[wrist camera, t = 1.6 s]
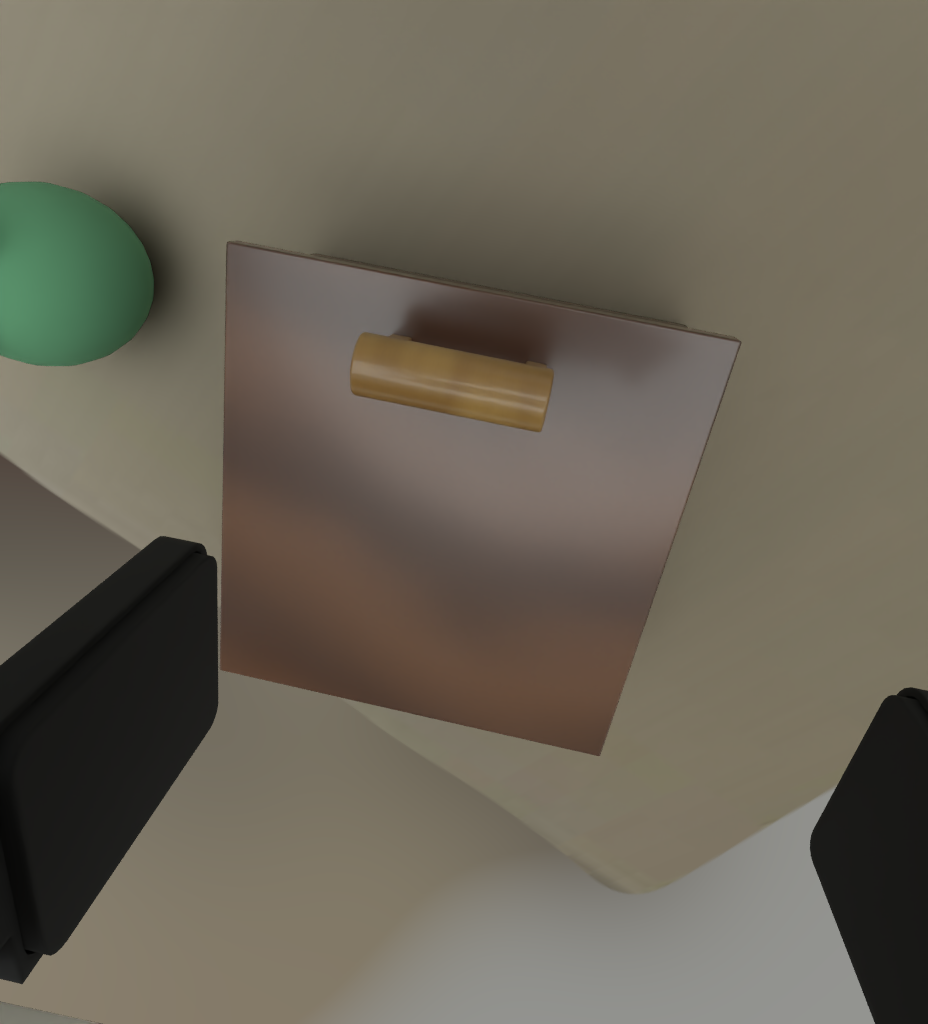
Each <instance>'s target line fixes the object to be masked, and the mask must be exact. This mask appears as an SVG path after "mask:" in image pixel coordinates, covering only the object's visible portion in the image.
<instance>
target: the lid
mask: <svg viewBox="0 0 928 1024" xmlns="http://www.w3.org/2000/svg"><path fill="white" fill-rule="evenodd" d="M740 345H741V341H740V340H738V339H737V338H735V337H732V336H727V335H722V334H717V333H712V332H706V331H701V330H696V329H691V328H686V327H681V326H675V325H670V324H665V323H660V322H655V321H650V320H644V319H639V318H634V317H629V316H624V315H619V314H613V313H608V312H603V311H598V310H593V309H588V308H582V307H577V306H572V305H567V304H562V303H557V302H551V301H546V300H541V299H536V298H531V297H526V296H520V295H515V294H510V293H505V292H500V291H495V290H489V289H484V288H479V287H474V286H469V285H464V284H458V283H453V282H448V281H443V280H438V279H433V278H427V277H422V276H417V275H412V274H407V273H402V272H396V271H391V270H386V269H381V268H376V267H371V266H366V265H360V264H355V263H350V262H345V261H340V260H335V259H329V258H324V257H319V256H314V255H309V254H304V253H298V252H293V251H288V250H283V249H278V248H273V247H267V246H262V245H257V244H252V243H247V242H242V241H229V242H227V252H226V317H225V381H224V446H223V510H222V574H221V640H220V642H221V643H220V670H223V671H227V672H231V673H236V674H241V675H245V676H249V677H254V678H258V679H262V680H267V681H272V682H275V683H280V684H284V685H289V686H293V687H298V688H302V689H306V690H311V691H315V692H319V693H324V694H328V695H333V696H337V697H341V698H346V699H350V700H354V701H359V702H363V703H368V704H372V705H376V706H381V707H385V708H390V709H394V710H398V711H403V712H407V713H412V714H416V715H420V716H425V717H429V718H434V719H438V720H442V721H447V722H451V723H456V724H460V725H464V726H469V727H473V728H478V729H482V730H486V731H491V732H495V733H500V734H504V735H508V736H513V737H517V738H522V739H526V740H530V741H535V742H539V743H544V744H548V745H552V746H557V747H561V748H566V749H570V750H574V751H579V752H583V753H588V754H592V755H596V756H600V754H601V751H602V748H603V746H604V743H605V740H606V737H607V734H608V731H609V728H610V725H611V722H612V719H613V716H614V713H615V710H616V708H617V705H618V702H619V699H620V696H621V693H622V690H623V687H624V684H625V681H626V678H627V675H628V672H629V670H630V667H631V664H632V661H633V658H634V655H635V652H636V649H637V646H638V643H639V640H640V637H641V634H642V632H643V629H644V626H645V623H646V620H647V617H648V614H649V611H650V608H651V605H652V602H653V599H654V596H655V594H656V591H657V588H658V585H659V582H660V579H661V576H662V573H663V570H664V567H665V564H666V561H667V559H668V556H669V553H670V550H671V547H672V544H673V541H674V538H675V535H676V532H677V529H678V526H679V523H680V521H681V518H682V515H683V512H684V509H685V506H686V503H687V500H688V497H689V494H690V491H691V488H692V485H693V483H694V480H695V477H696V474H697V471H698V468H699V465H700V462H701V459H702V456H703V453H704V450H705V447H706V445H707V442H708V439H709V436H710V433H711V430H712V427H713V424H714V421H715V418H716V415H717V412H718V410H719V407H720V404H721V401H722V398H723V395H724V392H725V389H726V386H727V383H728V380H729V377H730V374H731V372H732V369H733V366H734V363H735V360H736V357H737V354H738V351H739V348H740Z"/></svg>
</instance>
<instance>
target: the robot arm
mask: <svg viewBox="0 0 928 1024" xmlns="http://www.w3.org/2000/svg"><path fill="white" fill-rule="evenodd" d="M217 620H218V619H217V562H216V560H215V558H214V557H213V556H208V555H207V552H206V549H205V547H204V546H203V545H202V544H200V543H195V542H190V541H186V540H181V539H176V538H171V537H166V536H160V537H158V538H157V539H155V540H154V541H152V542H151V543H150V544H149V545H148V546H146V547H145V548H144V549H143V550H141V551H140V552H139V553H138V554H137V555H135V556H134V557H133V558H132V559H130V560H129V561H128V562H127V563H126V564H124V565H123V566H122V567H121V568H120V569H118V570H117V571H116V572H114V573H113V574H112V575H111V576H110V577H109V578H107V579H106V580H105V581H103V583H101V584H100V585H99V586H97V587H96V588H95V589H94V590H92V591H91V592H90V593H89V594H88V595H86V596H85V597H84V598H83V599H81V600H80V601H79V602H78V603H76V604H75V605H74V606H73V607H72V608H70V609H69V610H68V611H67V612H65V613H64V614H63V615H62V616H61V617H59V618H58V619H57V620H56V621H55V622H53V623H52V624H51V625H50V626H48V627H47V628H46V629H45V630H43V631H42V632H41V633H40V634H39V635H37V636H36V637H35V638H34V639H32V640H31V641H30V642H29V643H28V644H26V645H25V646H24V647H23V648H21V649H20V650H19V651H18V652H16V653H15V654H14V655H13V656H12V657H10V658H9V659H8V660H7V661H6V662H4V663H3V664H2V665H0V979H3V980H8V981H12V982H16V983H20V984H23V982H24V981H25V980H26V978H27V977H28V975H29V974H30V972H31V971H32V969H33V968H34V967H35V965H36V964H37V962H38V961H39V959H40V958H41V957H42V955H43V954H46V955H53V954H55V953H56V952H57V951H58V950H59V949H60V948H62V946H63V945H64V944H65V942H66V941H67V940H68V938H69V937H70V936H71V934H72V932H73V931H74V930H75V928H76V927H77V925H78V924H79V922H80V921H81V919H82V918H83V916H84V915H85V913H86V912H87V910H88V909H89V907H90V906H91V904H92V903H93V901H94V900H95V898H96V897H97V895H98V894H99V892H100V891H101V890H102V888H103V887H104V885H105V884H106V882H107V880H108V879H109V878H110V876H111V875H112V873H113V872H114V870H115V869H116V867H117V866H118V864H119V863H120V861H121V860H122V858H123V857H124V855H125V854H126V852H127V851H128V850H129V848H130V847H131V845H132V844H133V842H134V841H135V839H136V838H137V836H138V834H139V833H140V832H141V830H142V829H143V827H144V826H145V824H146V823H147V821H148V820H149V818H150V817H151V815H152V814H153V812H154V811H155V809H156V808H157V807H158V805H159V804H160V802H161V801H162V799H163V798H164V796H165V794H166V793H167V792H168V790H169V789H170V787H171V786H172V784H173V783H174V781H175V780H176V778H177V777H178V775H179V774H180V772H181V771H182V769H183V768H184V766H185V765H186V764H187V762H188V761H189V759H190V758H191V756H192V755H193V753H194V752H195V750H196V749H197V747H198V746H199V744H200V743H201V741H202V740H203V738H204V737H205V735H206V734H207V732H208V731H209V729H210V728H211V726H212V724H213V721H214V719H215V715H216V712H217V707H218V625H217V624H218V621H217ZM810 851H811V857H812V861H813V864H814V866H815V869H816V871H817V874H818V877H819V879H820V882H821V884H822V887H823V890H824V892H825V895H826V897H827V900H828V903H829V905H830V908H831V910H832V913H833V916H834V918H835V921H836V923H837V926H838V928H839V931H840V934H841V936H842V939H843V942H844V944H845V947H846V949H847V952H848V954H849V957H850V959H851V962H852V965H853V967H854V970H855V973H856V975H857V978H858V980H859V983H860V986H861V988H862V991H863V993H864V996H865V998H866V1001H867V1004H868V1006H869V1009H870V1012H871V1014H872V1016H873V1019H874V1022H875V1024H928V691H926V690H921V689H916V688H911V687H910V688H904V689H903V690H901V691H900V692H899V693H898V694H897V695H891V696H888V697H887V698H885V700H884V701H883V703H882V704H881V706H880V708H879V710H878V711H877V713H876V715H875V717H874V719H873V721H872V722H871V724H870V726H869V728H868V730H867V732H866V734H865V735H864V737H863V739H862V741H861V743H860V745H859V746H858V748H857V750H856V752H855V754H854V756H853V758H852V759H851V761H850V763H849V765H848V767H847V769H846V770H845V772H844V774H843V776H842V778H841V780H840V782H839V783H838V785H837V787H836V789H835V791H834V793H833V794H832V796H831V798H830V800H829V802H828V804H827V806H826V808H825V810H824V811H823V813H822V815H821V817H820V818H819V820H818V822H817V824H816V826H815V828H814V830H813V832H812V835H811V840H810ZM0 1024H101V1023H97V1022H92V1021H88V1020H83V1019H78V1018H74V1017H69V1016H64V1015H59V1014H55V1013H51V1012H46V1011H42V1010H37V1009H33V1008H28V1007H23V1006H19V1005H14V1004H9V1003H5V1002H0Z"/></svg>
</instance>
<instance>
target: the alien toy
mask: <svg viewBox="0 0 928 1024" xmlns="http://www.w3.org/2000/svg"><path fill="white" fill-rule="evenodd" d="M153 294H154V278H153V273H152V267H151V262H150V260H149V258H148V256H147V253H146V251H145V249H144V246H143V244H142V243H141V241H140V240H139V239H138V237H137V236H136V234H135V233H134V231H133V230H132V229H131V227H130V226H129V225H128V224H127V223H126V222H125V221H124V220H122V219H121V218H120V217H119V216H118V215H117V214H116V213H115V212H114V211H113V210H111V209H110V208H109V207H107V206H105V205H104V204H102V203H100V202H98V201H97V200H95V199H93V198H92V197H90V196H88V195H86V194H84V193H82V192H79V191H76V190H72V189H69V188H65V187H62V186H58V185H54V184H51V183H45V182H7V183H1V184H0V355H2V356H4V357H7V358H10V359H14V360H17V361H21V362H24V363H28V364H33V365H41V366H72V365H78V364H83V363H86V362H89V361H93V360H96V359H99V358H102V357H105V356H107V355H110V354H111V353H113V352H114V351H116V350H117V349H119V348H120V347H121V346H123V345H124V344H126V343H127V342H128V341H130V340H131V339H132V338H133V337H134V336H135V335H136V333H137V332H138V330H139V329H140V328H141V326H142V325H143V323H144V322H145V320H146V319H147V317H148V314H149V311H150V308H151V304H152V301H153Z"/></svg>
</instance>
